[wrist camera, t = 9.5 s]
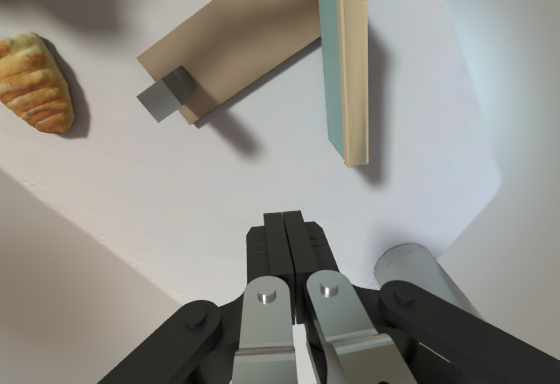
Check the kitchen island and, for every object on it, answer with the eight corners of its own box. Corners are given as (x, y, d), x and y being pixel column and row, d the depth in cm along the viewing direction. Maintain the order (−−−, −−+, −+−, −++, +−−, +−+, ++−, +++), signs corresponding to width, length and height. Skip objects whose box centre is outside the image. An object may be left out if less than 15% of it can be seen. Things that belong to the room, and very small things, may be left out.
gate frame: (357, 9, 31) (402, 2, 22) (191, 122, 35) (174, 155, 26) (320, -80, 27) (357, -130, 19) (139, 57, 31) (99, 69, 22)
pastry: (97, 119, 34) (80, 129, 30) (41, 138, 34) (18, 150, 31) (39, 25, 29) (12, 25, 26) (-25, 48, 29) (-60, 52, 26)
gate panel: (337, -5, 29) (367, -14, 22) (343, 136, 36) (368, 163, 29) (316, -1, 29) (339, -10, 22) (326, 139, 36) (347, 167, 29)
